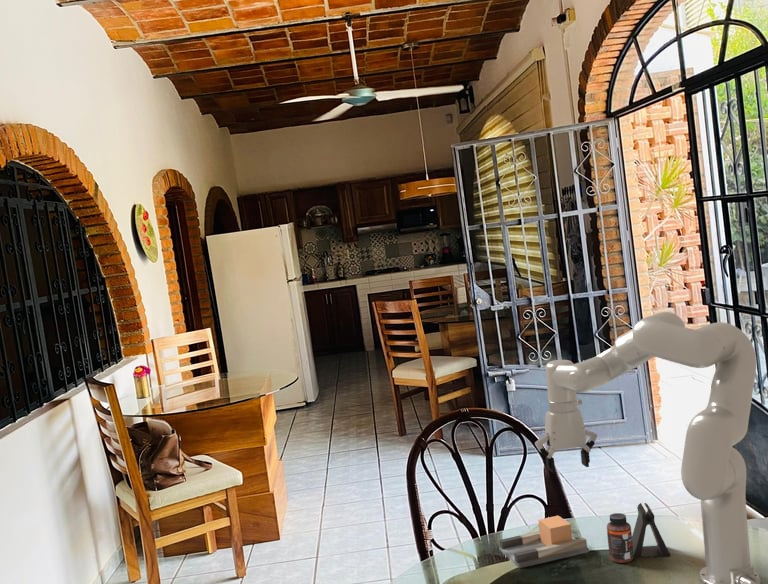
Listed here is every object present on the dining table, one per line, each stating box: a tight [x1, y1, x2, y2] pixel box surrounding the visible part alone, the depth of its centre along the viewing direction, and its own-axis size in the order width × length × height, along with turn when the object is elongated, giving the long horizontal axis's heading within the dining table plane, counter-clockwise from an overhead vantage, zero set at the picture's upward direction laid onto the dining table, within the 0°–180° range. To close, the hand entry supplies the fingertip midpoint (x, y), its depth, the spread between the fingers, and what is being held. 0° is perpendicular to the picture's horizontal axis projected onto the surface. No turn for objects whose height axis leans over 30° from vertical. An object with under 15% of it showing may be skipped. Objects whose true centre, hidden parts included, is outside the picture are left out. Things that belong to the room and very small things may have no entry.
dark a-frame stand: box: [632, 502, 671, 559], centre depth 189 cm, size 9×6×12 cm, turn 82°
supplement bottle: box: [606, 512, 635, 564], centre depth 187 cm, size 6×6×11 cm
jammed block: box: [537, 515, 573, 546], centre depth 198 cm, size 7×6×6 cm
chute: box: [498, 530, 590, 569], centre depth 198 cm, size 13×20×3 cm, turn 104°
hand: (568, 468), depth 199 cm, fingers open, 9 cm apart
